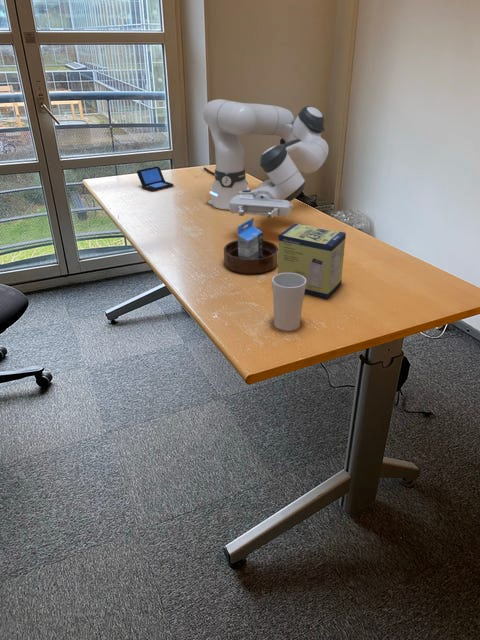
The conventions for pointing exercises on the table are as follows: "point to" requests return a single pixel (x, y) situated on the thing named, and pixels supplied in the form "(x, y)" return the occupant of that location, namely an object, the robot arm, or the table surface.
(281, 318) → the cup
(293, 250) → the protein box
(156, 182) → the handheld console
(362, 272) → the table surface
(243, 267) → the bowl
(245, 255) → the label tape box
